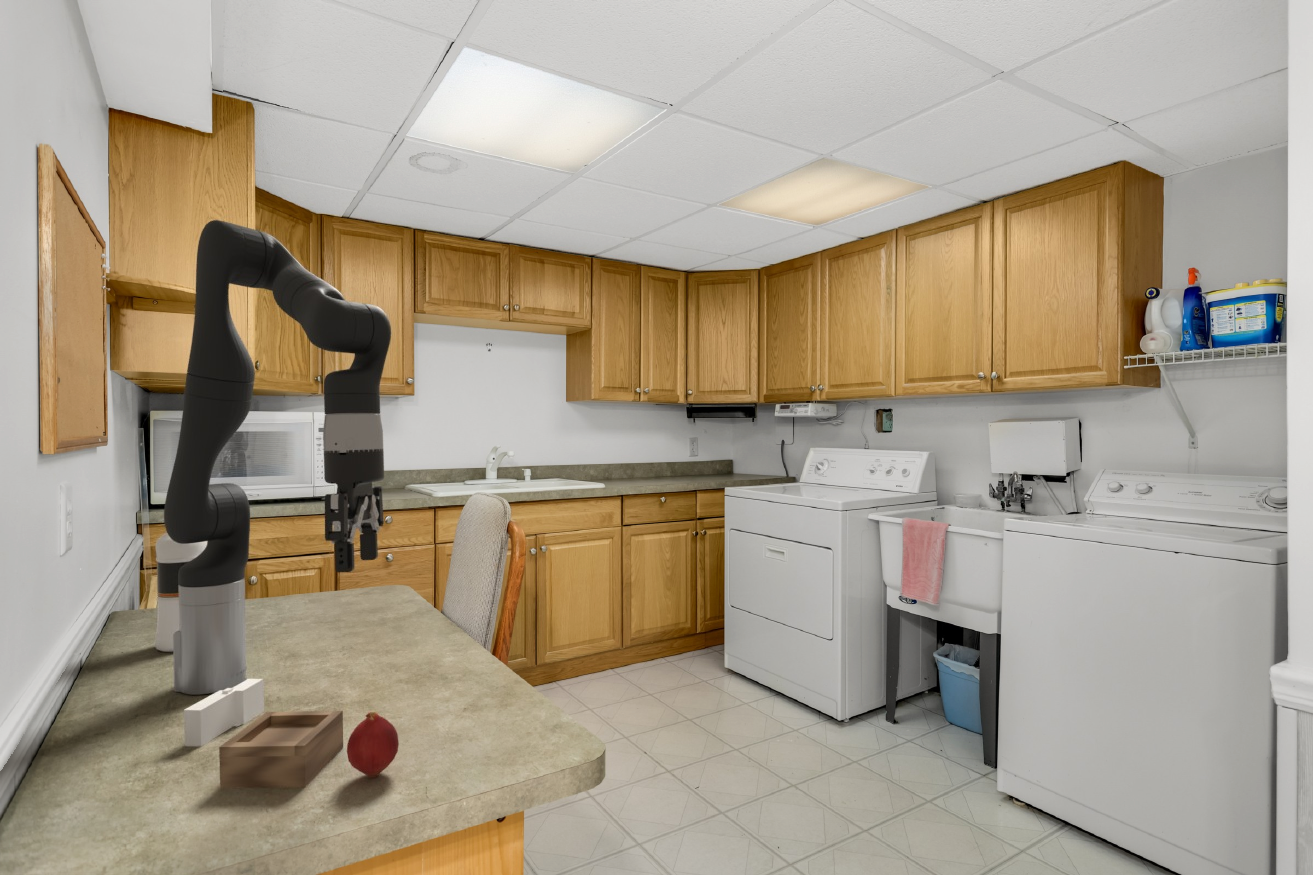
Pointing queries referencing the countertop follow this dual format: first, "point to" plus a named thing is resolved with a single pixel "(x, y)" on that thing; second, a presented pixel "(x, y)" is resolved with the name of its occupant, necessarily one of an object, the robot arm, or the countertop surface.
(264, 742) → the wooden box
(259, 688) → the white notched block
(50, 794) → the countertop surface
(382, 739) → the onion
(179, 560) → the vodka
